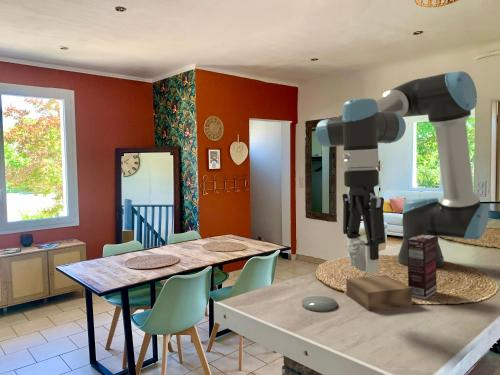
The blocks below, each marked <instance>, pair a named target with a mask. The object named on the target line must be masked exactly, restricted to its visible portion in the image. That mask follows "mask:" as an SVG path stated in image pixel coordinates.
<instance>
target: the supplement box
mask: <svg viewBox="0 0 500 375" xmlns="http://www.w3.org/2000/svg"><path fill="white" fill-rule="evenodd" d="M407 240H408V266H407V271H408V272H407V279H408V280H407V284H408V285H407V286H409V287H411V288H412V298H415V299H420V300H427V299H428V298H430V297H431V296H433V295H434V294H435V293H437V290H438V288H437V267H436V236H431V235H418V236H415V237H412V238H410V239H407Z"/></svg>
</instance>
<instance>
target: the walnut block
mask: <svg viewBox="0 0 500 375" xmlns="http://www.w3.org/2000/svg"><path fill="white" fill-rule="evenodd" d="M345 284H346V296H347V297H348V298H350V299H351V300H352V301H354V302H355V303H356V304H358V305H359V306H361V307H362V308H363V309H365V310H366V311H368V312H372V311H381V310H388V309H390V310H391V309H395V308H396V309H397V308H398V309H399V308H406V307H412V305H413V304H412V303H413V302H412V299H413V297H412V288H411V287H409V286H408V285H407V284H404V283H403V282H400V281H398V280H396V279H394V278H392V277H390V276H388V275H386V274H384V275H383V274H382V275H371V276H364V277H363V276H360V277H352V278H351V277H350V278H346V282H345Z"/></svg>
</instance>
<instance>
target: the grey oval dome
mask: <svg viewBox="0 0 500 375" xmlns="http://www.w3.org/2000/svg"><path fill="white" fill-rule="evenodd" d="M301 306H302V308H304V309H306V310H308V311H312V312H323V313H324V312H330V311H333V310H335V309H336V308H338V307H337V306H338V302H337V300H335V298H332V297H328V296H324V295H313V296H307V297H304V298H303V299H302V300H301Z"/></svg>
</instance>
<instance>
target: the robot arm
mask: <svg viewBox="0 0 500 375" xmlns="http://www.w3.org/2000/svg"><path fill="white" fill-rule="evenodd" d="M477 98H478V94H477V88H476V86H475V82H474V80H473V78H472V77H471V75H470V74H469V73H467V72H466V71H454V72H445V73H440V74H437V75H432V76H426V77H421V78H416V79H412V80H409V81H407V82H405V83H402V84H399V85H397V86H395V87H394V88H392V89H389V90H387V91H386V92H384V93H383V94H382V95H381V97H379V98H377V99H374V98H356V99H350V100H347V101H345V102H344V103H343V105H342V115H339V116H336V117H333V118H331V117H328V118H325V119H322V120H320V121H319V122H318V123H317V124H316V127H315V136H316V137H315V138H316V140H317V142H318V144H319V145H320V146H323V147H331V148H333V147H340V146H341V147H342V146H343V155H342V159H343V166H344V169H346V170H345V171H344V172H343V181H344V187H347V188H349V192H348V193H343V194H342V203H343V206H342V207H343V209H342V210H343V212H342V213H343V214H342V216H343V218H342V232H343V235H346V237H347V239H348V245H349V244H351V243H353V242H354V241H357V240H362V239H361V237H362V235H361V234H360V227H361V222H363V226H364V232H365V233H364V234H365V238H366V241H367V242H365V257H366V271H365V275H375V274H379V272H380V271H379V269H380V268H379V260H380V259H379V256H380V254H379V253H380V252H379V250H380V249H379V246H380V244H381V245H382V244H385V243H386V232H385V230H386V229H385V217H384V205H385V199H384V197H383V196H381V197H378V196H376V191H375V187H378V186H379V184H380V180H379V178H380V177H379V170H378V169H377V168H378V167H379V165H380V163H379V161H380V160H379V144H391V143H396V142H398V141H399V140H401V139H402V138H403V136H404V135H405V133H406V128H407V126H406V125H407V124H406V121H405V119H404V118H407V117H408V118H409V117H420V116H427V118H428V123H430V124H432V125H433V126H434V131H435V138H436V144H437V146H436V147H437V153H438V160H439V168H440V176H441V183H442V189H443V190H442V192H443V195H442V197H441V198H440V199H438V197H427V198H420V199H419V198H418V199H417V198H416V199H410V200H406V201H404V202H403V204H402V213H401V214H402V242H401V246H400V248H399V253H398V254H397V261H398V263H399V264H401V265H405V266H407V267H408V240H407V239H410V238H412V237H415V236H418V235H431V236H436V268H439V267H443V266H444V265H445V258H444V255H443V252H442V250H441V246H440V243H439V237H444V238H455V239H462V240H475V241H476V240H479V239H481V238H482V237H483V235H484V234H485V232H486V229H487V225H488V222H489V207H488V206H487V204H484V203H481V198H480V196H479V195H477V194H475V193H474V192H475V191H474V186H473V185H474V183H473V176H472V167H471V166H472V165H471V157H470V156H471V155H470V149H469V148H470V146H469V137H468V130H467V120H468V119H469V118H470V116H471V115H472V112H471V111H472V110H474V109H475V108H476V106H477V104H478V100H477ZM348 262H349V264H348V265H349V267H355V266H354V264H353V259H352V257H350V254H349V253H348Z"/></svg>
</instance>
